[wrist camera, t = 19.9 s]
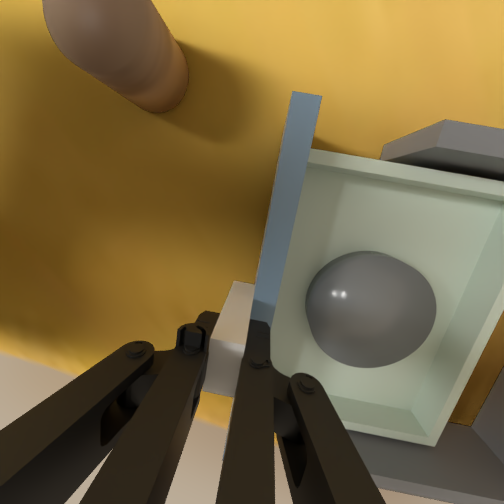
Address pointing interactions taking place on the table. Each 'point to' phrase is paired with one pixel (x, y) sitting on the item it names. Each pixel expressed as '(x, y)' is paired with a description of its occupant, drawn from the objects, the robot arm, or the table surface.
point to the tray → (396, 245)
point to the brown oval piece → (121, 48)
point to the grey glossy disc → (369, 309)
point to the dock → (500, 397)
